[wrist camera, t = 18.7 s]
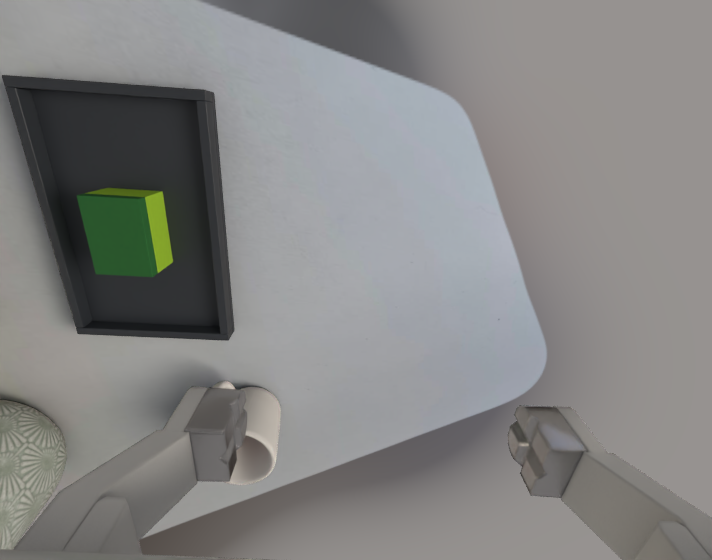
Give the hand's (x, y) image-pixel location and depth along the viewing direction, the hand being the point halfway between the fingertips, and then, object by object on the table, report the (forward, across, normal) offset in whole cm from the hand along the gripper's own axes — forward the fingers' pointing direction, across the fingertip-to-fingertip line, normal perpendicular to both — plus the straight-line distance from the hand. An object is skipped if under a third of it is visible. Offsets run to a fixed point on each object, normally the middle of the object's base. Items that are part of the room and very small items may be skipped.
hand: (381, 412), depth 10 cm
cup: (+25, +12, +24) cm, 37 cm away
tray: (+26, +21, +3) cm, 33 cm away
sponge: (+25, +21, +3) cm, 33 cm away
